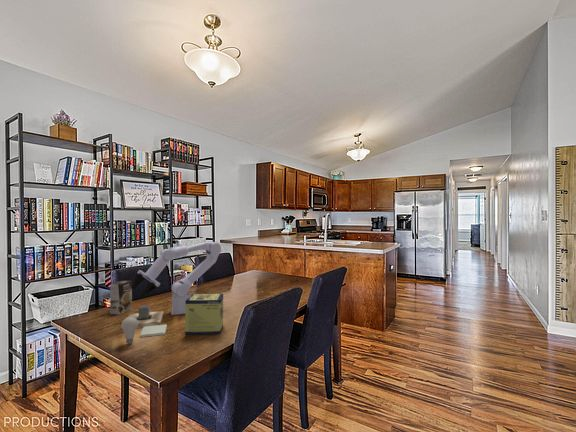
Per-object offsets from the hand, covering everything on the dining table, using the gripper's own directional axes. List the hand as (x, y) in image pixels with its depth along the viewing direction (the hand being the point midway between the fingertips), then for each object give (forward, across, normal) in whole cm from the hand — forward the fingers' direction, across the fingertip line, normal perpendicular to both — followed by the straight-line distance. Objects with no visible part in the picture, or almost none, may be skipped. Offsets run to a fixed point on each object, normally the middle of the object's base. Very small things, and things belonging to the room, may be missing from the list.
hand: (137, 292), depth 152 cm
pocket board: (+9, +10, +6) cm, 15 cm away
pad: (+9, +23, -2) cm, 25 cm away
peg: (+10, +10, +6) cm, 15 cm away
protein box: (-3, +42, +3) cm, 42 cm away
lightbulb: (+16, +25, -14) cm, 33 cm away
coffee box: (+14, -13, +15) cm, 24 cm away
